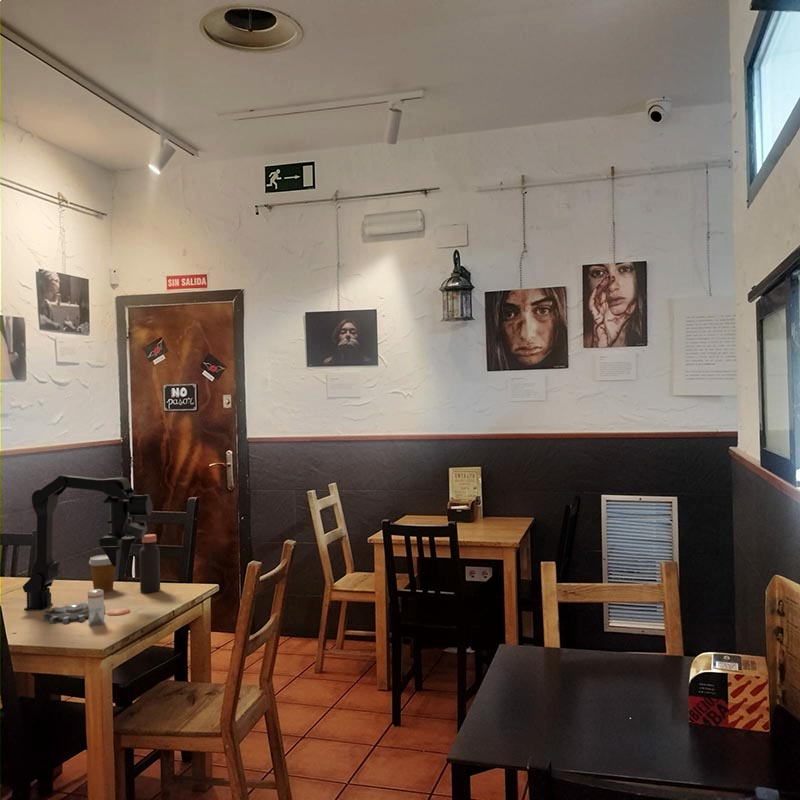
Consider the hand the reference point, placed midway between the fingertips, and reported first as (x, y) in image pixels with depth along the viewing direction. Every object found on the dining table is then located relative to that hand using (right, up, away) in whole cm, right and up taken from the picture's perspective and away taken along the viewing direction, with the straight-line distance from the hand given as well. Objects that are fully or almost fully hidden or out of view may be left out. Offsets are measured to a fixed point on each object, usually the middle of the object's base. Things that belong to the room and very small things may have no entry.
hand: (120, 563), depth 239 cm
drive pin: (-1, -15, -18) cm, 23 cm away
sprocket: (-12, -15, -8) cm, 20 cm away
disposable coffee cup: (-15, -15, +23) cm, 31 cm away
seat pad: (+2, -15, -6) cm, 16 cm away
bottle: (+3, -15, +20) cm, 25 cm away
